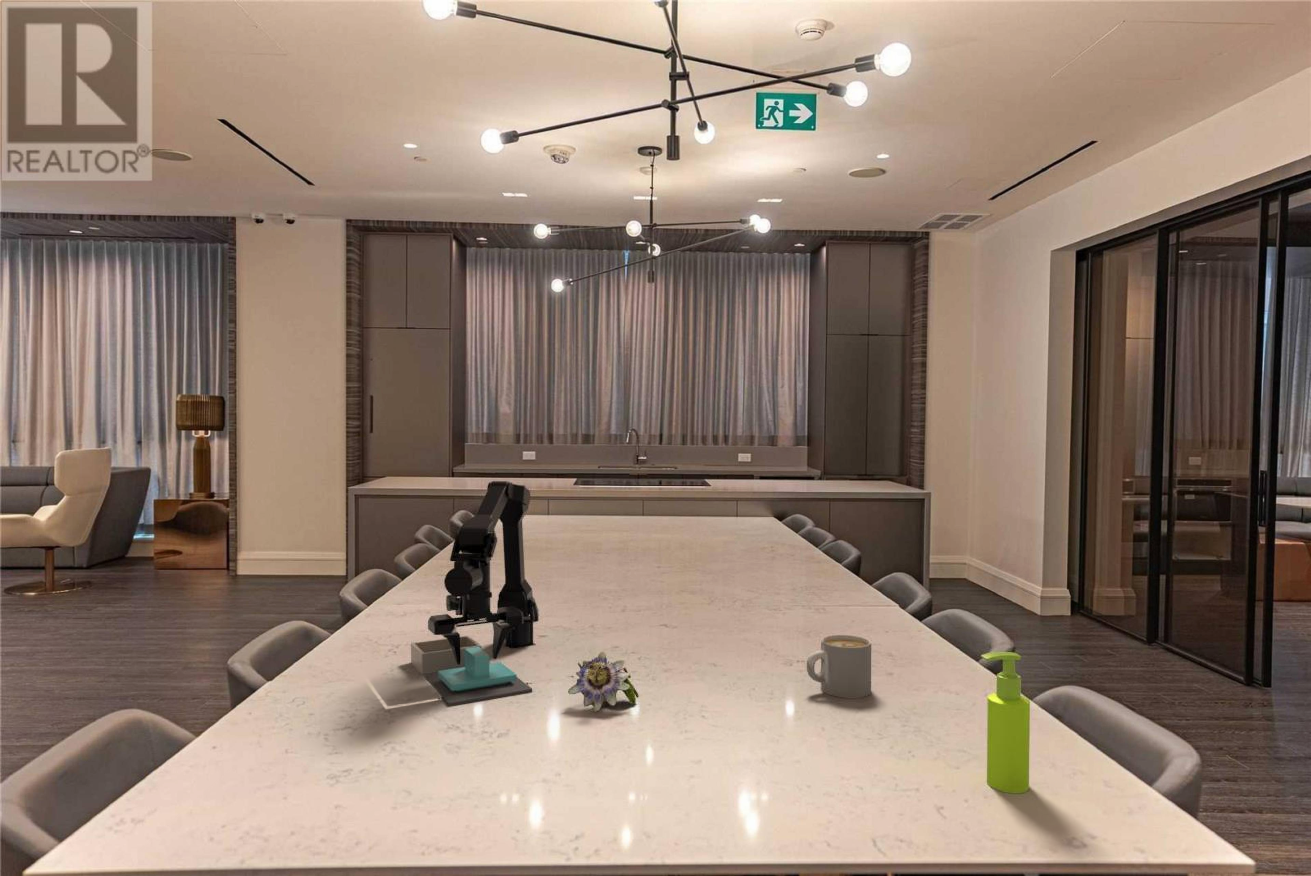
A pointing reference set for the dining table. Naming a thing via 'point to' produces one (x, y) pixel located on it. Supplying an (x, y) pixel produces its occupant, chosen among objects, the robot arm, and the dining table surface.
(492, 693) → the rubber mat
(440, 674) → the lid
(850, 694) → the coffee mug
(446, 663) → the storage box
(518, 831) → the dining table surface
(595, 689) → the passion flower
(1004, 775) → the soap dispenser
